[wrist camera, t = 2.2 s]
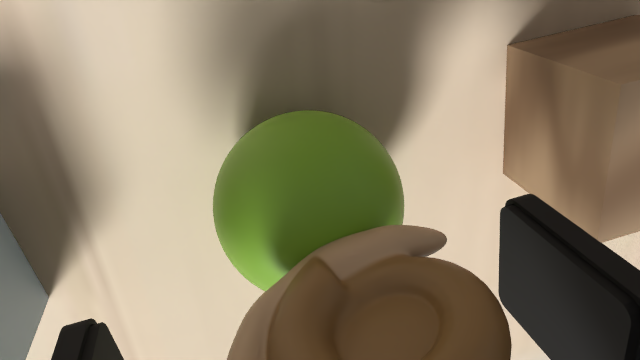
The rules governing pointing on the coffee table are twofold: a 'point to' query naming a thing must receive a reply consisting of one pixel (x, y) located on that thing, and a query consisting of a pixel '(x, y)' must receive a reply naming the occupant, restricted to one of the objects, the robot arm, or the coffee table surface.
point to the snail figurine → (342, 253)
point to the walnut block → (578, 124)
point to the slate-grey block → (17, 298)
